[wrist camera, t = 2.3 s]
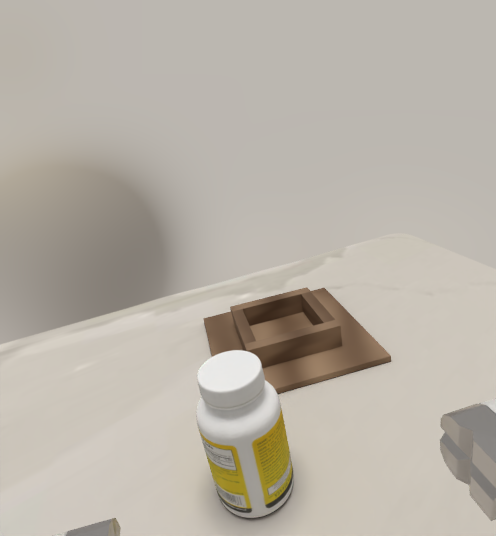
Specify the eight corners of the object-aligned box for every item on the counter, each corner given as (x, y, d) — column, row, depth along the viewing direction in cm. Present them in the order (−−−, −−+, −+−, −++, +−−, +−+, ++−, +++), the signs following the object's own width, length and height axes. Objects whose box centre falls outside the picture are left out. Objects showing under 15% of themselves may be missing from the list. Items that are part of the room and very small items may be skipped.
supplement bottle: (287, 445, 30) (268, 336, 26) (301, 512, 25) (280, 390, 21) (217, 457, 30) (188, 351, 26) (217, 528, 25) (181, 409, 21)
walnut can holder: (224, 409, 35) (217, 381, 34) (204, 322, 49) (199, 301, 48) (390, 361, 37) (390, 334, 36) (324, 291, 51) (322, 271, 50)
